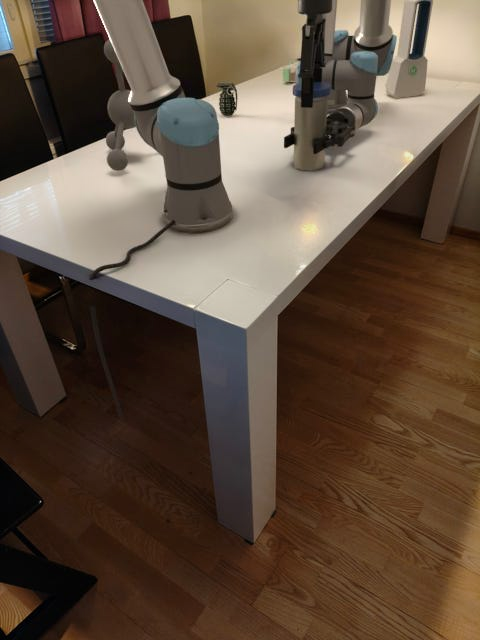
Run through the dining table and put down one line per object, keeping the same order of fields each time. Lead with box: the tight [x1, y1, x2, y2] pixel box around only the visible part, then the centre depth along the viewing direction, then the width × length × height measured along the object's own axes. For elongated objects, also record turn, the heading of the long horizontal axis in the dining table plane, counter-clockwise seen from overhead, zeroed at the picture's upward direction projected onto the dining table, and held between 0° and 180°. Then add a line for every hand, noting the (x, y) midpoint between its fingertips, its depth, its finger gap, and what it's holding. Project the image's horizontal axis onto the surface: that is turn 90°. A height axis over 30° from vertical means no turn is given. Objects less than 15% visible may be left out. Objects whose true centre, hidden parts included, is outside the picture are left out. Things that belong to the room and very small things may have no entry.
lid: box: [292, 82, 331, 98], centre depth 118 cm, size 9×9×2 cm
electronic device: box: [384, 0, 434, 99], centre depth 170 cm, size 12×8×30 cm, turn 105°
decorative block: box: [282, 61, 299, 84], centre depth 205 cm, size 26×6×20 cm
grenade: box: [215, 82, 238, 117], centre depth 166 cm, size 7×6×10 cm
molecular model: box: [103, 38, 136, 172], centre depth 131 cm, size 24×22×30 cm
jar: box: [293, 96, 328, 171], centre depth 124 cm, size 8×8×18 cm
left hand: (311, 101), depth 119 cm, fingers closed on lid, 9 cm apart
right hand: (299, 145), depth 122 cm, fingers closed on jar, 8 cm apart
